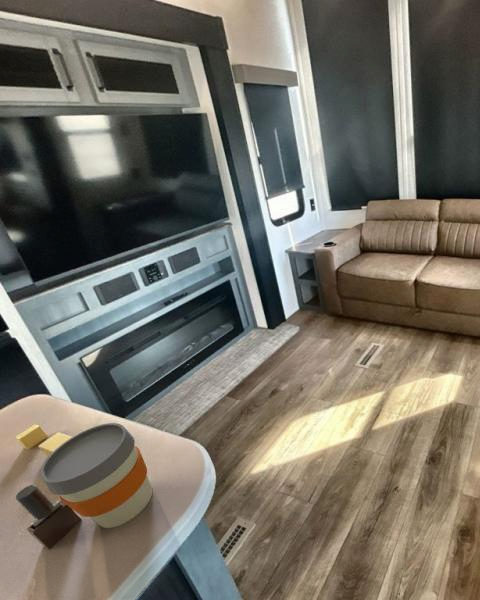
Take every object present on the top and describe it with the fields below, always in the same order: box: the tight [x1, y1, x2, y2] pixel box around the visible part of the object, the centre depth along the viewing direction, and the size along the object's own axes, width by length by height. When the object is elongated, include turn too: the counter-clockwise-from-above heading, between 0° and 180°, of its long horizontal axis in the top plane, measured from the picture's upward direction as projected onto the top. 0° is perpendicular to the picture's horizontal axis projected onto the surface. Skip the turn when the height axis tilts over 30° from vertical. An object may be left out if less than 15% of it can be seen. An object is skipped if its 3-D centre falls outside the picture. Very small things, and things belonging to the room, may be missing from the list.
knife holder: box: [25, 500, 82, 550], centre depth 64 cm, size 5×2×5 cm, turn 159°
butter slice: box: [15, 424, 48, 451], centre depth 86 cm, size 2×4×4 cm, turn 159°
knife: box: [15, 484, 62, 528], centre depth 63 cm, size 4×3×12 cm, turn 159°
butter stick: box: [38, 432, 73, 458], centre depth 81 cm, size 7×4×4 cm, turn 68°
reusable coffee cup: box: [39, 422, 153, 529], centre depth 65 cm, size 13×12×15 cm
